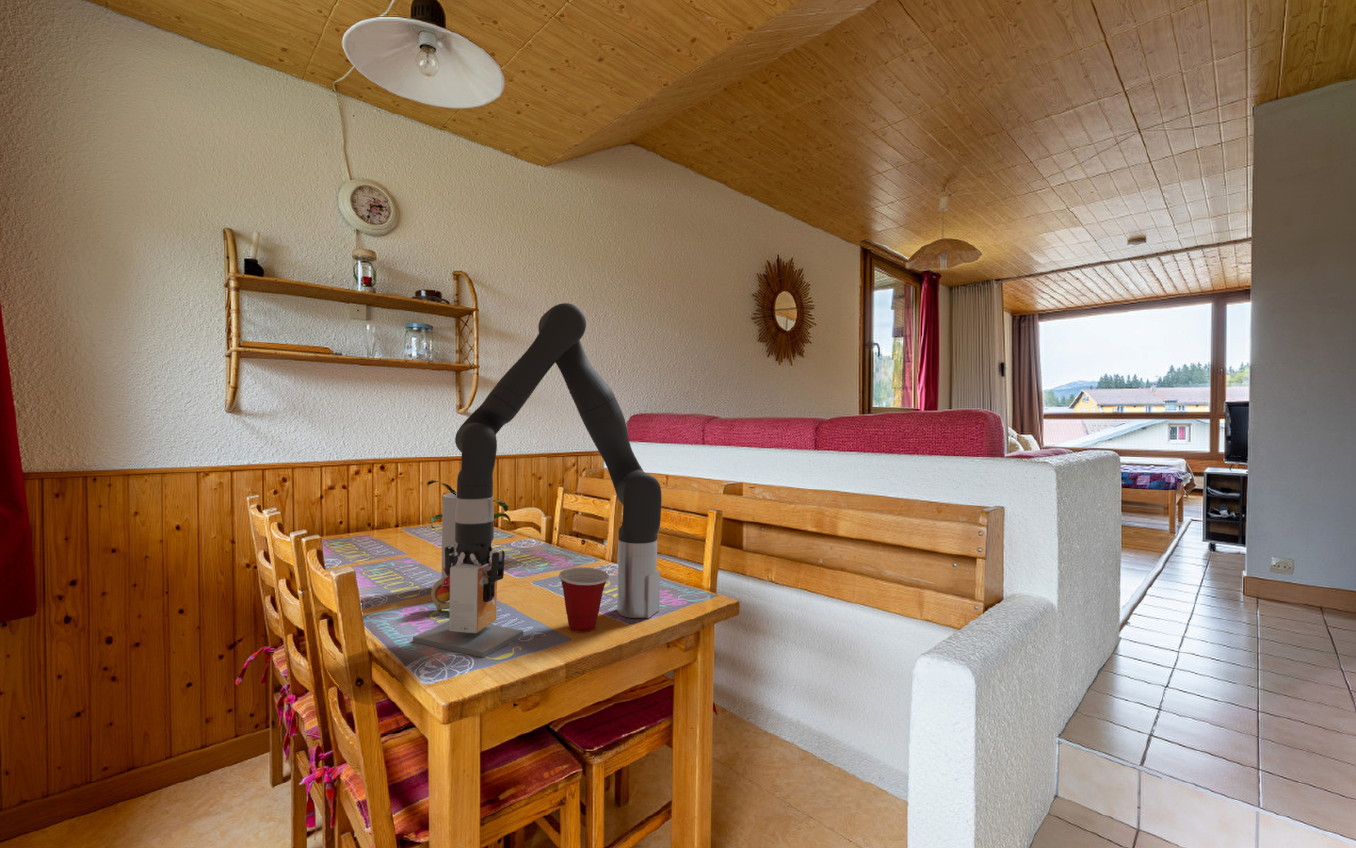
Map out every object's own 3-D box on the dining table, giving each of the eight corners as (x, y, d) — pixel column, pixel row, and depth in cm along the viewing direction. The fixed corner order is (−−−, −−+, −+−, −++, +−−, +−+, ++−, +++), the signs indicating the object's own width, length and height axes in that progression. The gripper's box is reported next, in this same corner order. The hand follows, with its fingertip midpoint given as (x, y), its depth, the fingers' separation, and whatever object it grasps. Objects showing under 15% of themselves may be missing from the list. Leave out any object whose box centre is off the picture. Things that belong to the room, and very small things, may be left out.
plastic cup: (587, 641, 114) (588, 583, 114) (547, 630, 119) (548, 575, 119) (618, 625, 123) (619, 571, 123) (579, 615, 129) (580, 564, 129)
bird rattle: (433, 624, 127) (469, 609, 127) (415, 579, 128) (451, 564, 127) (446, 615, 134) (480, 601, 133) (428, 572, 134) (463, 558, 134)
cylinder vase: (501, 585, 151) (503, 493, 151) (466, 598, 140) (468, 499, 139) (466, 579, 156) (468, 490, 156) (430, 591, 145) (432, 495, 145)
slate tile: (523, 635, 116) (523, 630, 116) (483, 657, 105) (483, 652, 105) (457, 622, 123) (457, 617, 123) (412, 641, 112) (412, 636, 112)
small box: (477, 634, 111) (477, 569, 111) (448, 631, 112) (448, 567, 112) (497, 620, 119) (498, 559, 119) (470, 617, 120) (471, 557, 120)
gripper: (514, 518, 116) (513, 598, 116) (461, 513, 121) (460, 589, 121) (489, 524, 109) (488, 609, 109) (434, 519, 114) (433, 599, 115)
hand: (473, 598), depth 115 cm, fingers closed on small box, 7 cm apart
